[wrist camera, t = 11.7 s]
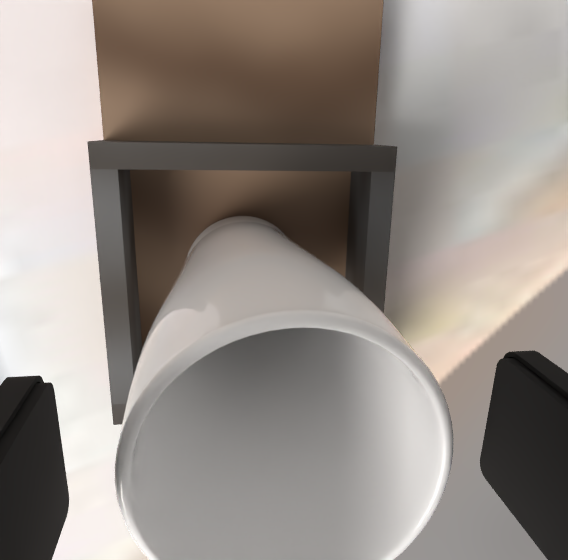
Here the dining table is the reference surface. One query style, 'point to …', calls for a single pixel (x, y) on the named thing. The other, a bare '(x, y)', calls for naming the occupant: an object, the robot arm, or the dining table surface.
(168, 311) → the white cup
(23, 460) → the robot arm
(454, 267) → the dining table surface
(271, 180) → the open box
